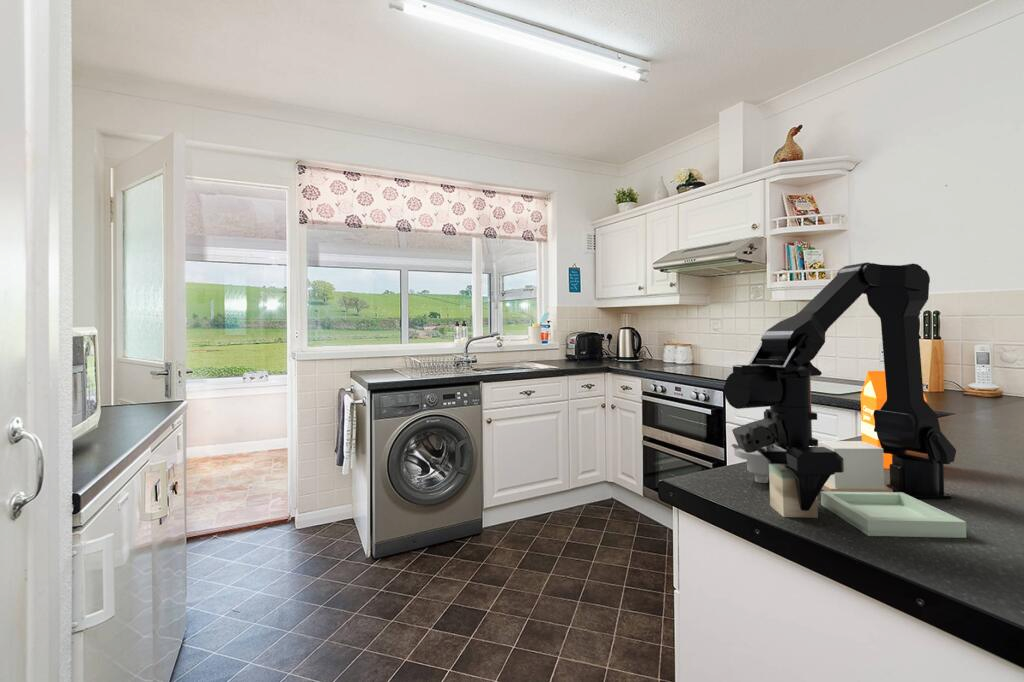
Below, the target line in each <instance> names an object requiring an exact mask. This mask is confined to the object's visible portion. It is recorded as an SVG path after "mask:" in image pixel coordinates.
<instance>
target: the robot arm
mask: <svg viewBox="0 0 1024 682" xmlns="http://www.w3.org/2000/svg"><path fill="white" fill-rule="evenodd" d="M930 279H931V277H930V274H929V272H928V271H927V270H926V269H924V268H923V267H922V266H921V265H919V264H917V263H907V264H901V265H898V264H897V265H896V264H879V263H874V262H872V263H871V262H861V263H856V264H851V265H850V264H849V265H845V266H843V267H841V268H840V269H839V270H838V271H837V273H836V276H835V277H833V279H831V281H829V282H828V284H826V286H824V287H823V289H821V290H820V291H819V292H818V293H816V295H815V296H814V297H813V298H812V299H811V300H810V301H809V302H808V303H807V304H806V305H805V306H803V308H802V309H801V310H800V311H799V312H797V313H796V314H794V315H792V316H791V317H788V318H785V319H782V320H780V321H778V322H777V323H775V324H774V325H773V326H771V327H770V328H768V329H767V330H765V331H764V333H763V334H762V336H761V338H760V344H759V345H758V347H757V349H756V350H755V352H754V353H753V355H752V357H751V359H750V360H749V361H748V363H747V364H733V365H732V373H730V374H729V375H728V376H727V378H726V380H725V384H724V385H723V393H724V397H725V399H726V401H727V403H728V404H729V405H730V406H731V407H732V408H734V409H739V410H741V409H743V410H744V409H752V408H765V411H763V418H762V419H759V420H754V421H751V422H748V423H746V424H743V425H740V426H737V427H734V428H732V429H731V431H732V434H733V436H734V439H735V441H736V443H737V444H736V445H738V446H739V448H740V449H743V450H744V451H745V452H747V453H751V452H755V451H758V452H759V453H760V454H761V455H763V456H764V457H765V458H766V459H767V461H768V463H769V464H788V465H789V466H785V468H786V469H787V470H788V471H789V472H790V473H791V474H792V475H793V476H794V477H795V483H796V489H797V495H798V501H799V505H800V509H801V510H802V511H808V510H809V509H810V508H811V506H812V504H813V503H814V501H815V499H816V497H817V498H818V495H819V493H821V490H822V487H823V486H824V484H825V483H826V481H827V480H828V479H829V477H830V476H831V475H834V474H835V473H842V472H844V463H843V458H842V457H841V456H840V455H839V454H838V453H837V452H834V451H832V450H830V449H827V448H825V447H817V446H818V441H819V439H818V438H815V437H813V422H812V421H815V420H816V421H817V420H818V413H817V412H814V411H812V389H811V388H812V383H811V380H812V379H811V377H819V376H822V371H821V370H820V369H819V368H817V367H815V365H813V363H812V361H813V360H814V358H815V357H817V355H818V354H819V352H820V350H821V349H822V347H823V346H824V345H825V343H826V333H827V331H828V329H829V328H831V326H833V324H834V323H836V321H837V320H838V319H839V318H840V317H841V316H842V315H843V314H844V313H845V312H846V311H847V310H849V308H850V307H851V306H852V305H853V304H854V303H855V302H856V301H857V300H858V299H859V298H860V297H861V296H862V295H863V294H864V295H866V299H867V304H868V306H869V307H870V308H871V309H872V310H873V312H874V313H875V314H876V315H877V316H878V318H879V320H880V326H881V327H880V328H881V329H880V331H881V342H882V352H883V355H882V356H883V365H884V371H885V381H886V394H887V400H886V401H885V403H884V404H883V406H882V407H881V409H880V410H878V409H875V410H874V413H873V416H874V421H875V427H874V432H876V433H877V437H878V439H879V442H880V445H881V448H883V453H886V454H892V464H890V469H889V483H886V487H888V488H890V489H893V491H895V492H903V493H905V494H907V495H909V496H911V497H914V498H916V499H917V498H919V499H925V498H926V499H927V498H928V499H953V497H952V496H953V495H952V494H950V493H948V492H945V477H944V475H945V474H944V473H945V472H944V469H945V468H944V465H950V464H951V463H954V462H955V458H956V453H957V449H956V447H954V446H953V444H952V443H951V442H950V441H949V439H948V438H947V437H946V436H945V435H944V434H943V432H942V431H941V427H940V423H939V417H938V415H937V413H936V412H935V411H934V410H933V408H931V406H930V405H929V404H928V403H926V401H927V400H926V401H925V400H924V395H925V394H924V395H923V393H924V384H923V371H922V357H921V348H920V347H921V345H920V333H919V321H918V317H919V314H920V312H922V309H923V308H924V306H925V305H926V303H927V302H928V300H929V291H930V282H931V280H930ZM767 407H769V408H767Z"/></svg>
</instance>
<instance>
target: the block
mask: <svg viewBox="0 0 1024 682" xmlns="http://www.w3.org/2000/svg"><path fill="white" fill-rule="evenodd" d="M785 466H789V465H788V464H769V475H768V477H769V478H768V481H769V506H770V507H771V508H772V509H773V510H774V511H776V513H778V514H779V515H780V516H782V518H783V517H784V518H819V510H818V507H819V505H818V503H819V502H818V496H817V497H816V499H815V501H814V503H813V504H812V506H811V508H810V509H809V510H808V511H802V510H801V509H800V505H799V501H798V495H797V489H796V483H795V477H794V476H793V475H792V474H791V473H790V472H789V471H788V470H787V469H786V468H785Z"/></svg>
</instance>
